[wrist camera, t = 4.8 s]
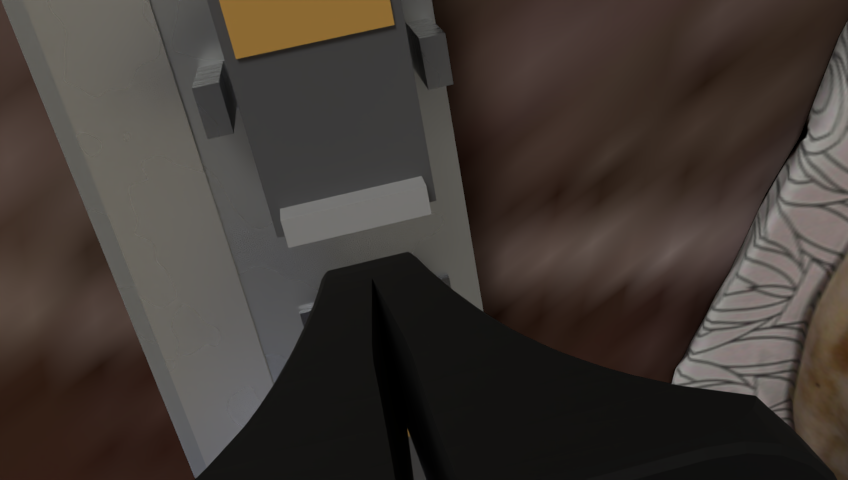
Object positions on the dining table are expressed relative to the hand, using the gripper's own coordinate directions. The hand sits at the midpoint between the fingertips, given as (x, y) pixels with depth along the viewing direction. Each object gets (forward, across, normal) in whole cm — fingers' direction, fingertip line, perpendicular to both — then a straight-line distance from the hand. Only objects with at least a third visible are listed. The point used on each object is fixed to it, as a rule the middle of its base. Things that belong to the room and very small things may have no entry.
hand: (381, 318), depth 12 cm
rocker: (+5, 0, -2) cm, 6 cm away
